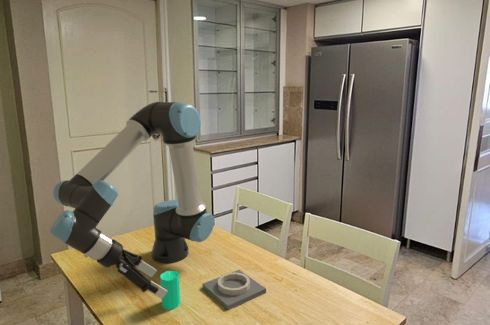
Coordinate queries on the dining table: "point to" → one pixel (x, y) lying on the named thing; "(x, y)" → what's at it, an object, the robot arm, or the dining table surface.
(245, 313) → the dining table surface
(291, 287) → the dining table surface
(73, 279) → the dining table surface
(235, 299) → the candle stand
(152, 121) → the robot arm
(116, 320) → the dining table surface
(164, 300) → the candle
